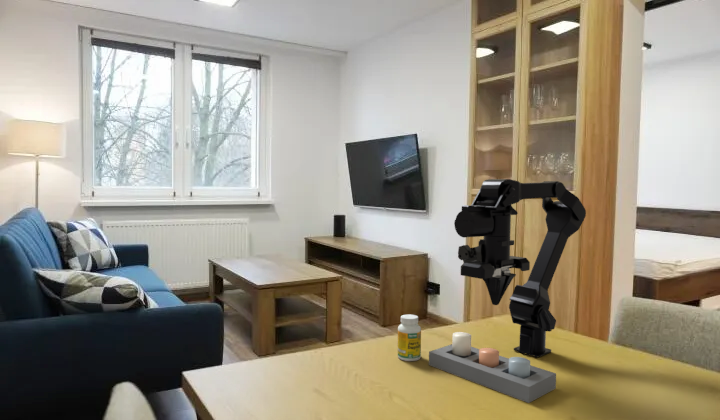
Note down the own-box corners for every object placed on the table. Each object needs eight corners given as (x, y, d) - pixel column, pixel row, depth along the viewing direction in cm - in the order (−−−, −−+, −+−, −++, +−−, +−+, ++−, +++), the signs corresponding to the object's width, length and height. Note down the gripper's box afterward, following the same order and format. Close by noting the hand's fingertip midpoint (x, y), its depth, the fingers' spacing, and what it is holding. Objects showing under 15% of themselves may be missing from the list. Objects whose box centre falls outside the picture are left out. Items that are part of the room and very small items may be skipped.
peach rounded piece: (486, 364, 102) (486, 346, 102) (502, 370, 99) (502, 351, 99) (474, 369, 99) (475, 350, 99) (491, 375, 96) (491, 355, 96)
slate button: (515, 374, 96) (515, 355, 96) (533, 381, 93) (534, 361, 93) (504, 379, 94) (504, 359, 94) (522, 386, 91) (523, 365, 91)
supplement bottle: (410, 352, 113) (411, 312, 113) (425, 358, 109) (426, 317, 108) (392, 356, 110) (393, 315, 110) (407, 363, 106) (407, 320, 105)
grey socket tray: (457, 354, 111) (457, 342, 111) (555, 388, 93) (556, 373, 93) (428, 364, 105) (429, 351, 105) (528, 403, 87) (529, 386, 86)
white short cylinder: (459, 348, 107) (460, 330, 107) (474, 353, 104) (475, 335, 104) (448, 352, 104) (448, 334, 104) (463, 357, 101) (463, 338, 101)
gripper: (490, 230, 118) (488, 292, 119) (441, 234, 106) (440, 304, 107) (531, 234, 110) (529, 301, 110) (483, 239, 97) (482, 314, 98)
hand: (495, 304), depth 107 cm, fingers closed
